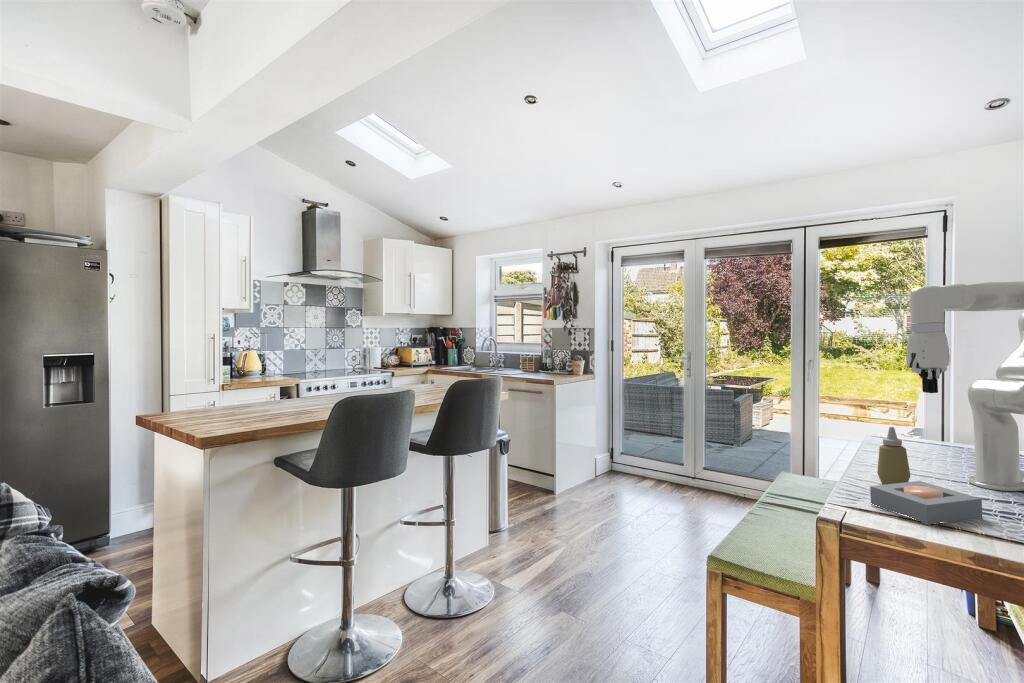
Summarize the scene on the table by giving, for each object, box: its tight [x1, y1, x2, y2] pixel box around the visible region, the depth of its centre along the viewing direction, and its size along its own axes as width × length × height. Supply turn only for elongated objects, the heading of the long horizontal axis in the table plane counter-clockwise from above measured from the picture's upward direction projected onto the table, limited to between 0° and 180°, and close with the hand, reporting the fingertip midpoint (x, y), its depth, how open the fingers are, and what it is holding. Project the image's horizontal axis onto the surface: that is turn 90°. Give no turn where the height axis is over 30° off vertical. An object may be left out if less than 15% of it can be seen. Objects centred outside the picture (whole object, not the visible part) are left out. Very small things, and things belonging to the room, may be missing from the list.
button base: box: [869, 480, 983, 526], centre depth 131 cm, size 16×16×5 cm
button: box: [904, 486, 943, 499], centre depth 131 cm, size 8×8×5 cm
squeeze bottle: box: [877, 426, 911, 485], centre depth 151 cm, size 8×8×18 cm
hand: (930, 392), depth 144 cm, fingers closed
